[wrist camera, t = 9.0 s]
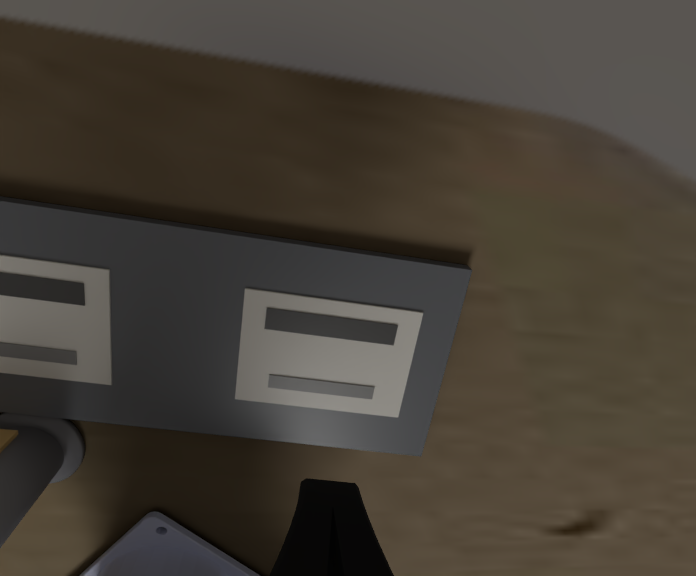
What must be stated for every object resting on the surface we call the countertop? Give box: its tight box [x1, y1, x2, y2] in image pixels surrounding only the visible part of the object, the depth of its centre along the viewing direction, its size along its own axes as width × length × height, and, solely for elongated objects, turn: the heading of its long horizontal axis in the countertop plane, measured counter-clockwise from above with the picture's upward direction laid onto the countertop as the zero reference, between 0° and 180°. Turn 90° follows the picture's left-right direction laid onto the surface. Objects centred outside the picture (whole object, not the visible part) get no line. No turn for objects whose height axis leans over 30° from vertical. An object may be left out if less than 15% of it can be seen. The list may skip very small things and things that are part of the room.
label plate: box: [0, 196, 472, 483], centre depth 19 cm, size 22×13×1 cm, turn 81°
